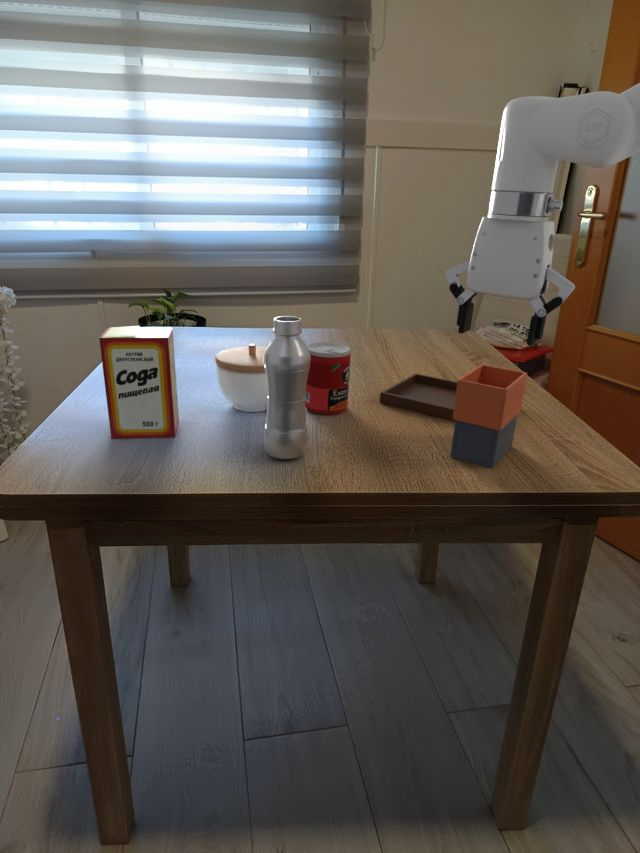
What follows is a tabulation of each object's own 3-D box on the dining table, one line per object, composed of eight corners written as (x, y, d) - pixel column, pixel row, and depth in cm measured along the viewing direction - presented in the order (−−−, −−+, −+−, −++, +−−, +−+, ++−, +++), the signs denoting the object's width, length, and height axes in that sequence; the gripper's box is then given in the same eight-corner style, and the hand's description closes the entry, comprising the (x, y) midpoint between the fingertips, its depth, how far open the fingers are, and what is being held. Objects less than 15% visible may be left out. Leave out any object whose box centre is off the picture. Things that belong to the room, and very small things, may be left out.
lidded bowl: (226, 421, 95) (224, 357, 91) (210, 396, 106) (208, 338, 101) (297, 413, 99) (299, 351, 95) (275, 390, 110) (276, 334, 106)
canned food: (335, 418, 98) (338, 356, 93) (295, 409, 101) (296, 348, 97) (355, 405, 104) (358, 346, 100) (317, 397, 107) (319, 339, 103)
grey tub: (511, 446, 89) (518, 410, 87) (492, 468, 82) (499, 429, 80) (472, 436, 92) (477, 401, 90) (450, 456, 85) (455, 419, 83)
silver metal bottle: (253, 455, 83) (251, 318, 76) (285, 441, 88) (287, 311, 81) (285, 469, 80) (287, 326, 72) (317, 454, 84) (322, 319, 77)
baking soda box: (178, 421, 94) (172, 325, 88) (175, 437, 88) (167, 335, 82) (119, 422, 93) (108, 325, 87) (111, 438, 87) (98, 335, 81)
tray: (507, 402, 108) (509, 392, 107) (480, 427, 96) (482, 416, 95) (414, 382, 118) (415, 373, 117) (379, 402, 106) (380, 392, 105)
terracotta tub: (520, 410, 87) (527, 372, 85) (500, 431, 79) (507, 389, 77) (476, 400, 91) (481, 364, 88) (452, 419, 83) (457, 379, 80)
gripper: (595, 211, 73) (567, 343, 79) (465, 203, 81) (449, 323, 88) (584, 212, 67) (554, 354, 73) (444, 203, 75) (429, 332, 82)
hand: (497, 337), depth 81 cm, fingers open, 9 cm apart
